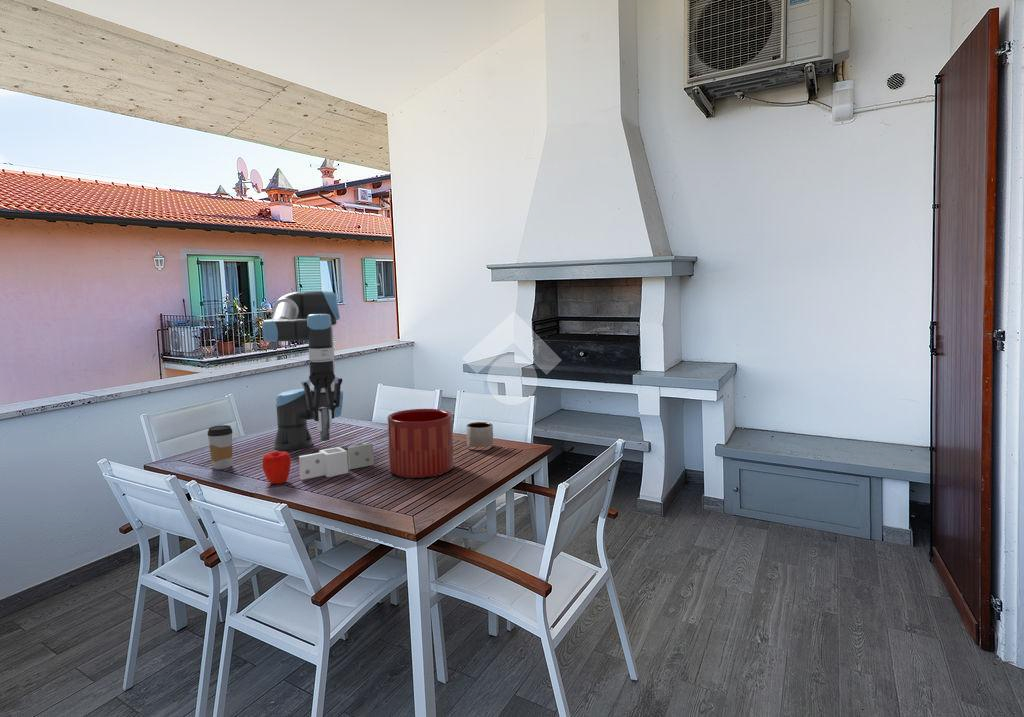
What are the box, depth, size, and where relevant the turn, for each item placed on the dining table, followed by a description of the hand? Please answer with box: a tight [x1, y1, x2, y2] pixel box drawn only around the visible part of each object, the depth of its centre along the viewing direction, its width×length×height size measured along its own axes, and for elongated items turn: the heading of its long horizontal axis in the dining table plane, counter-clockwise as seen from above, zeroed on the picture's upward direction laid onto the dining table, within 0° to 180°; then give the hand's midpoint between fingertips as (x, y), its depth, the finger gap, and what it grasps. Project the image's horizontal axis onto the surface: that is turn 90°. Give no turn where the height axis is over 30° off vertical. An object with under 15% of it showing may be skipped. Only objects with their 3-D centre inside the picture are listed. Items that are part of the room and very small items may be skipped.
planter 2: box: [466, 421, 494, 448], centre depth 236 cm, size 11×11×10 cm
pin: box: [319, 407, 331, 442], centre depth 194 cm, size 3×3×11 cm
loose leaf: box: [347, 442, 375, 470], centre depth 211 cm, size 2×9×8 cm, turn 125°
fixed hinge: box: [298, 446, 349, 481], centre depth 203 cm, size 7×15×8 cm, turn 127°
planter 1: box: [386, 408, 454, 479], centre depth 207 cm, size 23×23×20 cm
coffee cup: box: [207, 424, 234, 470], centre depth 213 cm, size 8×8×15 cm
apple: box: [262, 450, 292, 485], centre depth 194 cm, size 9×9×11 cm
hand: (324, 429), depth 194 cm, fingers closed on pin, 3 cm apart
